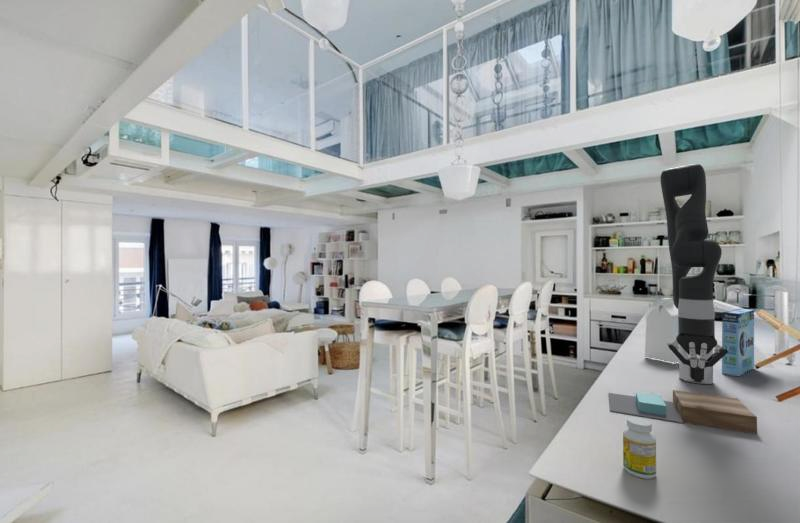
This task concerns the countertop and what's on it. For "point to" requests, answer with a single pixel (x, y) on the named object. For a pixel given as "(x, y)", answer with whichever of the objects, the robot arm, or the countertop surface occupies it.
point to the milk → (662, 331)
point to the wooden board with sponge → (714, 411)
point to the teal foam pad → (650, 403)
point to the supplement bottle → (639, 448)
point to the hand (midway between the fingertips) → (696, 381)
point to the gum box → (738, 341)
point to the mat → (630, 407)
